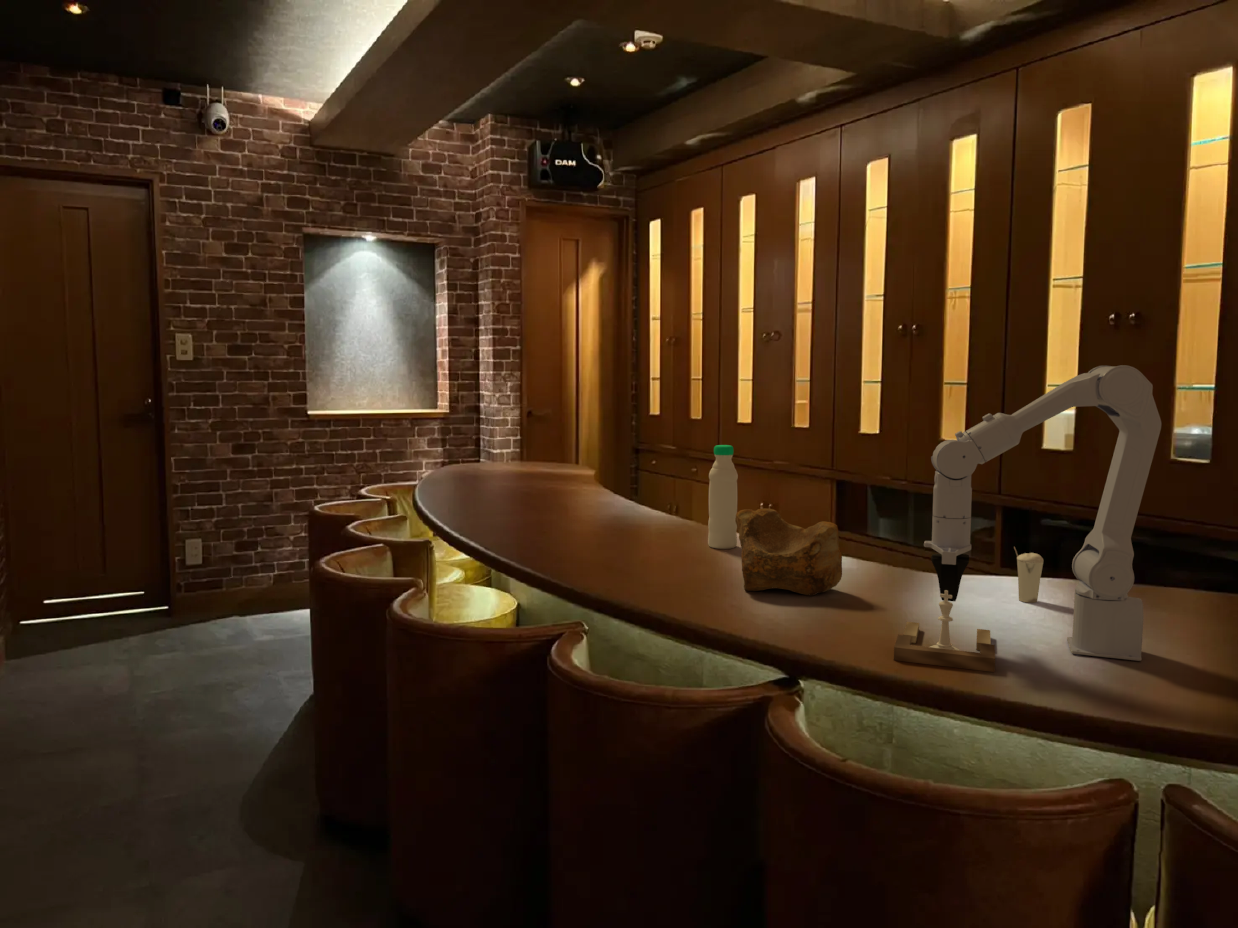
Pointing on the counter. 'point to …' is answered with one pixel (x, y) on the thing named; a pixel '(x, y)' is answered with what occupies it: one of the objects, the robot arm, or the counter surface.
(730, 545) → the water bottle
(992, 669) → the stop rail
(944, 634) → the chess piece
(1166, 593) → the counter surface
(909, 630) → the pocket channel
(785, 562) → the rough brown rock
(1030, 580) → the milkshake
